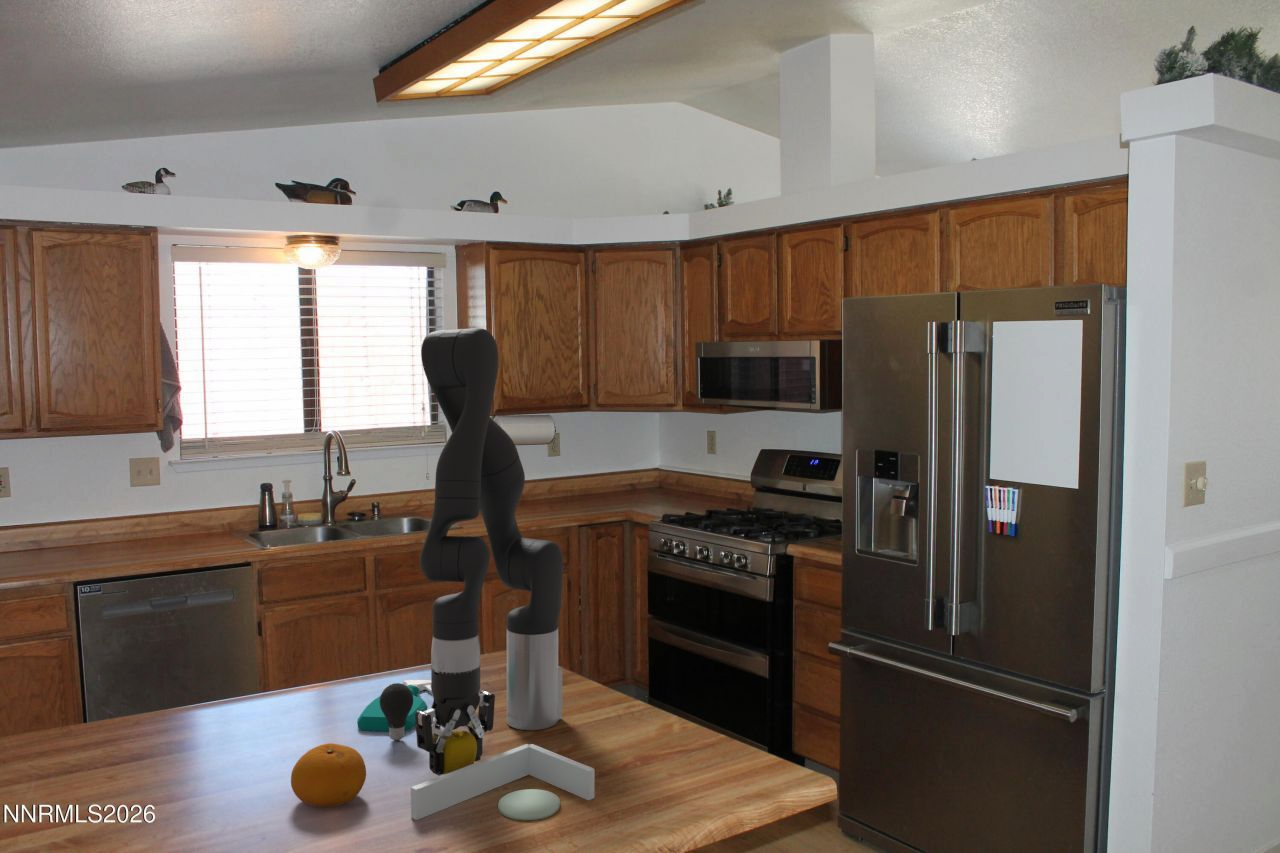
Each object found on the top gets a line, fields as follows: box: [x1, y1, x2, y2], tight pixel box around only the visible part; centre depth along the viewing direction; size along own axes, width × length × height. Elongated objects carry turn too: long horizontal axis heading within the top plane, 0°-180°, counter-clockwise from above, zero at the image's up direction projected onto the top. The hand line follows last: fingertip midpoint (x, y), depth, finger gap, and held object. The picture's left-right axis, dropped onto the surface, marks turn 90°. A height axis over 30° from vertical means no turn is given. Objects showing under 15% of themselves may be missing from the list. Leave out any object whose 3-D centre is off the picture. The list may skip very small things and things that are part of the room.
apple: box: [442, 730, 477, 775], centre depth 160 cm, size 6×6×8 cm
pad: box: [497, 788, 561, 822], centre depth 150 cm, size 9×9×1 cm
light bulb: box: [379, 682, 413, 743], centre depth 174 cm, size 6×6×10 cm
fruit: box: [290, 743, 367, 808], centre depth 151 cm, size 10×10×8 cm
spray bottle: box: [357, 679, 432, 733], centre depth 191 cm, size 3×11×25 cm
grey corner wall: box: [410, 743, 596, 821], centre depth 150 cm, size 23×15×4 cm, turn 138°
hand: (456, 766), depth 160 cm, fingers open, 6 cm apart
